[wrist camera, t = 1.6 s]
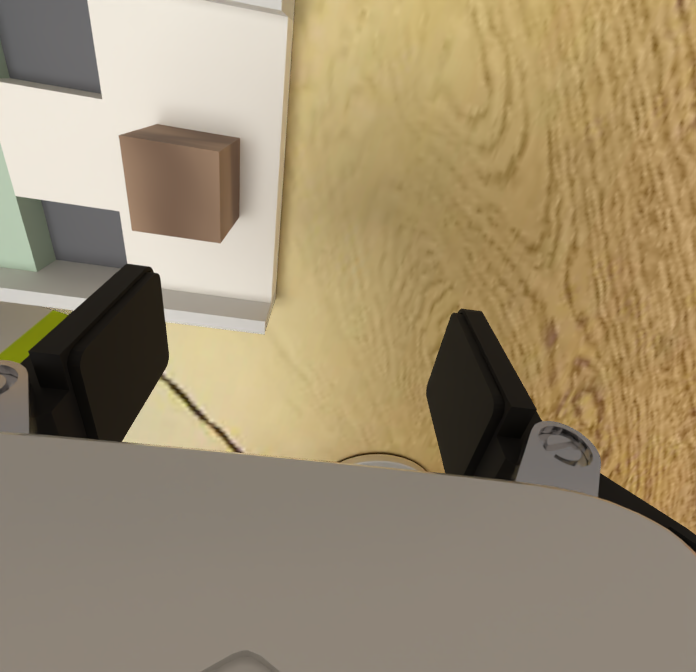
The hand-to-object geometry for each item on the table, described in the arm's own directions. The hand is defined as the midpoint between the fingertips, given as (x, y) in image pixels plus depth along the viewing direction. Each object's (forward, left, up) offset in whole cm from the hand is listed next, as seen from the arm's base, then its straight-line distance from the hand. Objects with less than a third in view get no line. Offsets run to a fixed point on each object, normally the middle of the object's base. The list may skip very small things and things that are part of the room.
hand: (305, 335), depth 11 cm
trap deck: (+14, 0, -18) cm, 23 cm away
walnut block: (+7, 0, -16) cm, 17 cm away
